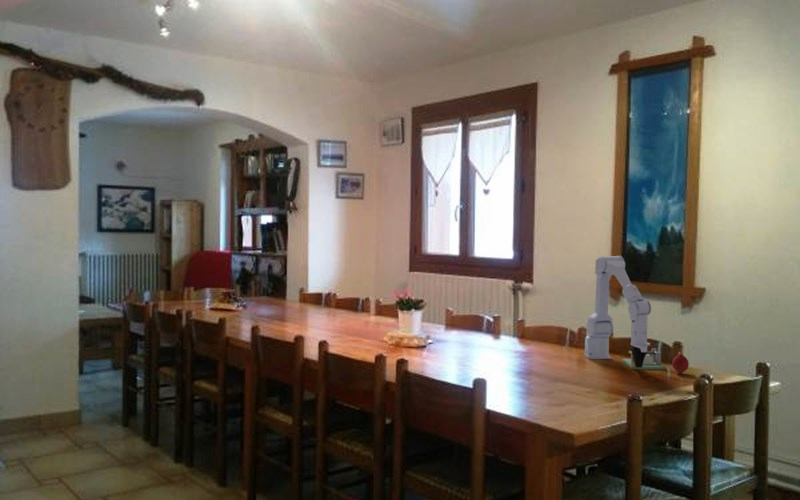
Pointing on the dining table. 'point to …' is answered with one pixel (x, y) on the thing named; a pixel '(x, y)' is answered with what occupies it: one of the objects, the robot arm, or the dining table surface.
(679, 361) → the onion
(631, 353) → the block
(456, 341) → the dining table surface
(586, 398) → the dining table surface
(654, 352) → the strap
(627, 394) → the dining table surface
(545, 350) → the dining table surface
